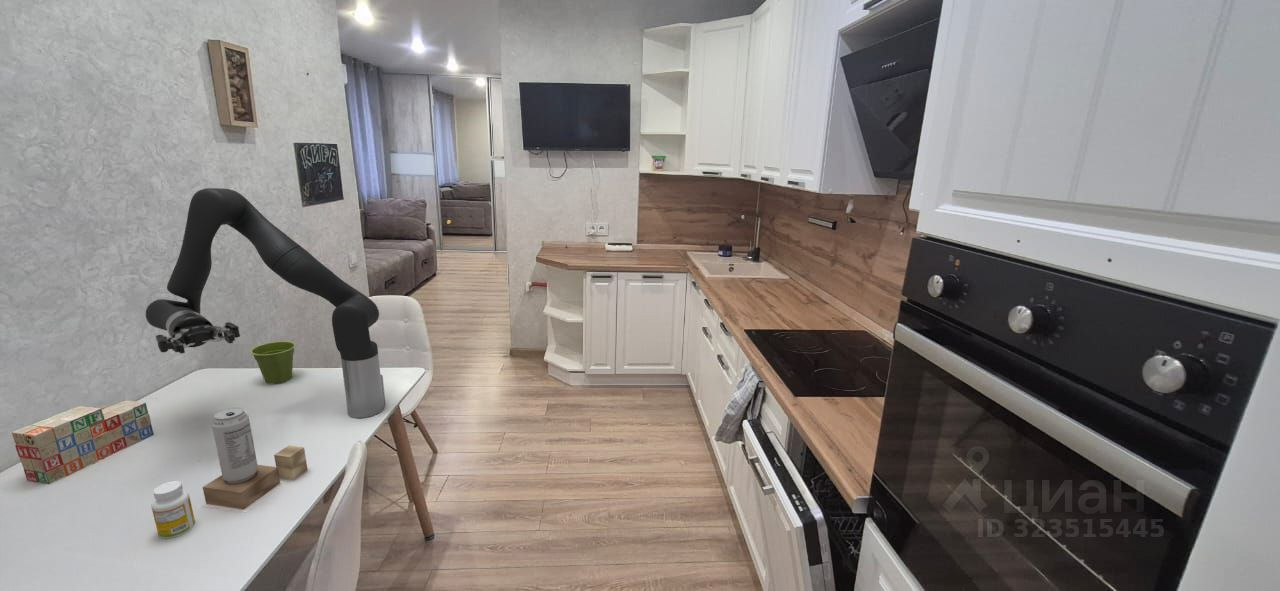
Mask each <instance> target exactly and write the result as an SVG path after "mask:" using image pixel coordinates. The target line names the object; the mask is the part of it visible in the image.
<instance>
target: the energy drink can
mask: <svg viewBox="0 0 1280 591" xmlns="http://www.w3.org/2000/svg"><path fill="white" fill-rule="evenodd" d="M213 417H214V419H213V421H212V423H211V428H212V432H213V433H212V434H213V436H214V442H215V448H216V452H217V457H218V463H219V467H220V472H221V475H222V477H223V479H224V480H226V481H227V482H228V483H240V482H244V481H246V480H249V479H250V478H252V477H253V476H254V475H255V473H256V471H257V470H258V465H259V464H258V459H257V454H256V449H255V443H254V437H253V433H252V427H251V422H250V421H251V420H250V417H249V415H248V413H246V412H245V409H244V408H243V407H230V408H226V409H223V410H220V411H218V412H216V413H215V414H214V416H213Z"/></svg>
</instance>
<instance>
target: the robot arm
mask: <svg viewBox="0 0 1280 591" xmlns="http://www.w3.org/2000/svg"><path fill="white" fill-rule="evenodd" d="M188 206H189V207H188V211H187V217H186V218H187V219H186V224H185V228H184V233H183V234H184V235H183V238H182V243H181V247H180V251H179V255H178V258H177V261H176V263H175V265H174V268H173V269H172V271H171V274H170V277H169V280H168V282H167V285H166V289H167V291H168V292H169V293H170V294H172V295H174V296H177V297H179V298H181V299H182V298H183V299H185V300H186V302H185V301H178V300H171V299H164V298H163V299H162V298H160V299H159V298H158V299H155V300H153V301H152V302H150V303H149V304H148V306H146V310H145V319H146V321H147V322H148V324H149V325H151V326H152V327H154V328H157V329H159V330H163V331H167V333H168V335H169V336H167V335H163V334H158V335H155V339H156V342H157V348H158V349H159V352H161V353H166V352H169V350H171V351H172V352H175V353H179V354H181V355H182V354H185V353H186V350H185V349H186V348H197V347H200V346H204V345H205V344H208V343H209V342H215V343H217V342H221V341H225V342H226V343H227V344H228V345H229V344H233V343H234V341H236V339H237V338H239V337H241V334H240V328H239V326H238V325H236V324H234V323H233V322H230V321H229V322H225V323H224V325H223V326H219V325H213V323H212V322H211V321H210V320H208V319H207V318H206V317H205V316H203V315H202V314H201V302H202V294H203V292H204V289H205V286H206V284H207V281H208V279H209V276H210V273H211V270H212V265H213V264H212V262H213V261H212V246H213V240H214V238H215V236H216V235H217V233H218V231H219V229H220V228H221V226H226V225H227V226H229V227H231V228H233V229H234V230H236V231H237V233H238V232H239V233H240V234H241V235H242V236H243V237H245V238H246V239H247V240H248V241H249V242H250V243H251V244H252V245H253V246H254V248H255V249H256V251H257V253H258V255H259V256H260V259H261V260H262V261H263V263H264V264H265V265H266V267H268V268H269V269H270V270H271V271H272V272H273V273H274V274H276V275H277V276H278V277H280V278H281V279H282V280H284V281H285V282H286V283H289V284H290V285H292V286H294V287H296V288H298V289H300V290H303V291H306V292H308V293H311V294H313V295H314V294H315V296H316V295H317V296H319V297H321V298H323V299H324V300H326V301H327V302H329V303H330V304H331V305H332V306H334V307H335V308H334V310H333V311H332V315H331V326H332V331H333V337H334V342H335V343H334V344H335V347H336V349H337V350H338V351H339V355H340V359H341V360H340V361H341V362H340V363H341V368H342V369H341V370H342V376H343V382H344V383H343V385H344V392H345V399H346V400H345V401H346V407H347V408H346V410H347V415H348V416H349V417H350V418H355V419H362V418H364V419H365V418H369V417H373V416H375V415H377V414H379V413H381V412H382V411H383V410H384V408H385V405H386V395H385V385H384V376H383V374H382V373H381V368H380V367H381V366H380V358H379V356H380V355H379V349H378V348H379V347H378V344H377V343H376V342H375V341H374V340H371V335H370V329H369V328H371V327H372V326H373V325H375V323H377V321H378V320H379V316H380V311H379V308H378V306H377V304H376V303H375V302H374V301H373V300H372V299H371V298H369V297H368V296H366V295H365V294H364V293H362V292H361V291H359V290H358V289H356V288H355V287H353V286H351V285H350V284H349V283H347V282H346V281H344V280H342V279H341V278H340V277H339V276H338V275H336V274H335V273H334V272H332V270H331V269H329V268H328V267H326V266H325V265H324V264H322V262H320V261H319V260H318V259H317V258H316V257H314V256H313V255H312V254H311V253H310V252H309V251H307V249H305V248H304V247H302V245H300V244H299V243H297V242H296V241H294V240H293V239H292V238H291V237H290V236H288V235H287V234H286V233H285V232H284V231H282V230H281V229H280V228H278V227H277V226H276V225H275V224H274V223H272V222H271V221H270V220H268V218H266V216H264V215H263V214H262V213H261V212H260V211H259V210H258V209H257V208H256V207H255V206H254V205H253V204H252V203H251V202H250V201H249V200H248V199H247V198H246V197H245V196H244V195H242V194H241V193H240V192H238V191H236V190H233V189H229V188H221V187H220V188H215V187H208V188H202V189H199V190H197V191H196V192H195V193H194V194H193V195H192V197H191V199H190V203H189V205H188Z"/></svg>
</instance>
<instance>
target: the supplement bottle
mask: <svg viewBox="0 0 1280 591" xmlns="http://www.w3.org/2000/svg"><path fill="white" fill-rule="evenodd" d="M152 494H153V497H154V499H153V501H152V502H151V511H152V516H153V518H154V523H155V526H156V527H155V528H156V530H157V535H158V536H159V537H160V538H161V539H171V538H172V539H173V538H174V537H178V536H182V535H183V534H185V533H188V532H189V531H190V530H191V529H193V528H194V527H195V525H196V519H195V515H194V511H193V507H192V502H191V498H190V493H189V492H188V491H187V490H184V489H183V485H182V482H181V481H180V480H174V481H173V480H172V481H168V482H165V483H161V484H160V485H158V486H156V488H154V489H153V493H152Z"/></svg>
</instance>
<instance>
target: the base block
mask: <svg viewBox="0 0 1280 591" xmlns="http://www.w3.org/2000/svg"><path fill="white" fill-rule="evenodd" d="M257 465H258V470H257V471H256V473H255V475H254V476H253V477H252V478H250V479H249V480H246V481H244V482H240V483H228V482H227V481H226V480H224V479H223V477H222V474H221V475H219V476H218V477H216V478H214V479H213V480H211V481H210V482H208V483H206V484H205V485H203V486H202V491H203V496H204V500H205V504H211V505H218V506H224V507H231V508H237V509H245V508H247V507H248V506H249V505H251V504H252V503H254V502H255V501H256V500H258V499H259V498H260V497H262V496H263V495H265V494H266V493H267V492H269V491H270V490H272V489H273V488H274V487H276V486H277V485H278V484H280V481H281V479H280V478H279V473H278V467H276V466H269V465H262V464H257Z"/></svg>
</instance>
